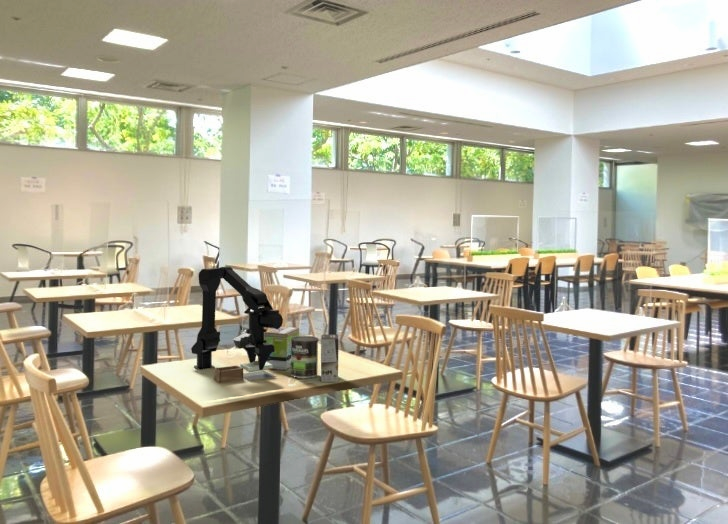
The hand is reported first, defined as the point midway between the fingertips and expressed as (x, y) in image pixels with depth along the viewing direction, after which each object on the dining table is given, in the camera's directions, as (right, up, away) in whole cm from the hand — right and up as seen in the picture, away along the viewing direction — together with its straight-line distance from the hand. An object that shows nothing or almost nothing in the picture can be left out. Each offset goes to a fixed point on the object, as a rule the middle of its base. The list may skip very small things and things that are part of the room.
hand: (256, 367), depth 221 cm
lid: (0, -1, 0) cm, 1 cm away
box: (-9, -4, -6) cm, 12 cm away
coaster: (0, -4, 0) cm, 4 cm away
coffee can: (+17, -4, +5) cm, 18 cm away
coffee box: (+27, -4, 0) cm, 28 cm away
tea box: (+7, -3, +21) cm, 22 cm away
